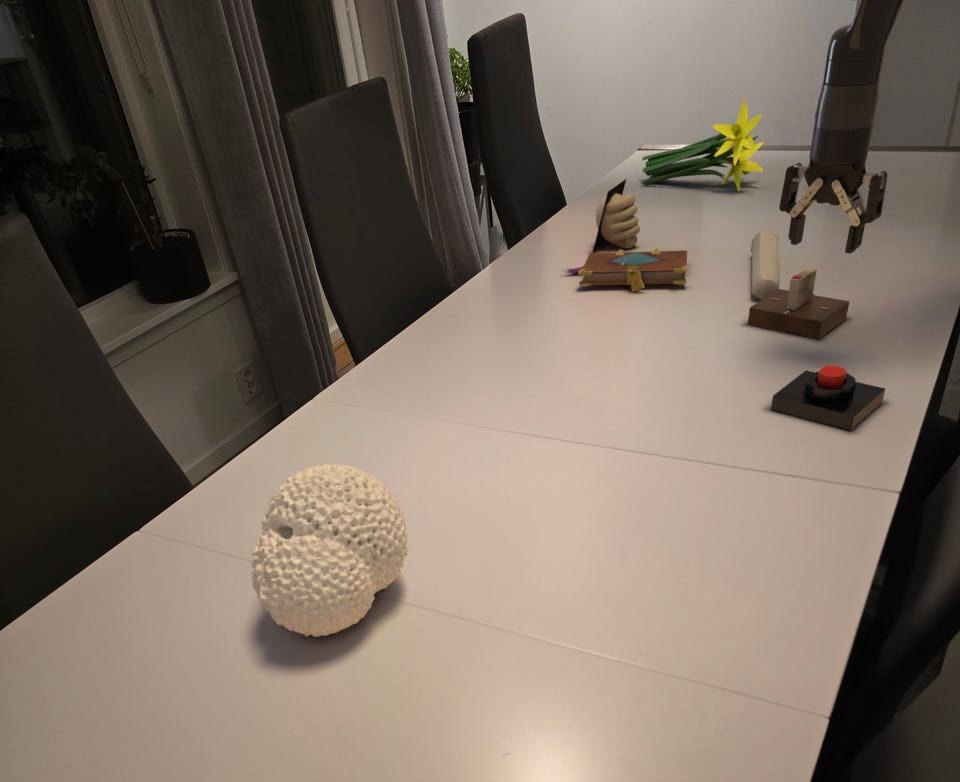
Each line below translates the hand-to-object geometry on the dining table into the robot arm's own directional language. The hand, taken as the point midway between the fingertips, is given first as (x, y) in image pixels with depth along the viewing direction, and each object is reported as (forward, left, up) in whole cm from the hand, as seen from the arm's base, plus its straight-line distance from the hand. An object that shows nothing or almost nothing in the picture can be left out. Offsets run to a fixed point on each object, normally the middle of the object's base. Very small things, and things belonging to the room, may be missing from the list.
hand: (822, 247), depth 123 cm
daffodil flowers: (+68, -78, -17) cm, 105 cm away
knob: (+7, -12, -13) cm, 19 cm away
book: (+46, -16, -17) cm, 52 cm away
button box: (-11, +14, -16) cm, 24 cm away
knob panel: (+7, -12, -16) cm, 21 cm away
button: (-11, +14, -13) cm, 22 cm away
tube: (+22, -28, -17) cm, 39 cm away
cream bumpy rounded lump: (+12, +86, -17) cm, 89 cm away
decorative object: (+59, -32, -17) cm, 69 cm away
